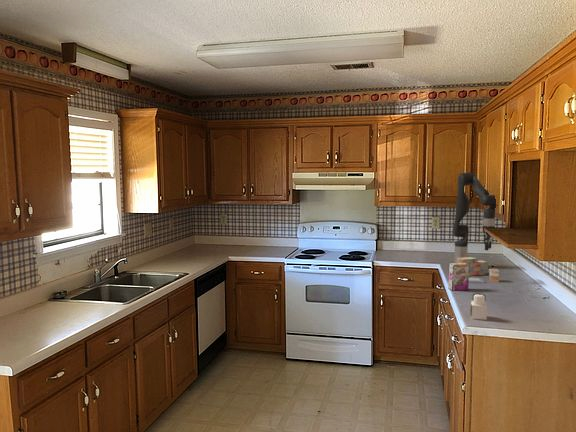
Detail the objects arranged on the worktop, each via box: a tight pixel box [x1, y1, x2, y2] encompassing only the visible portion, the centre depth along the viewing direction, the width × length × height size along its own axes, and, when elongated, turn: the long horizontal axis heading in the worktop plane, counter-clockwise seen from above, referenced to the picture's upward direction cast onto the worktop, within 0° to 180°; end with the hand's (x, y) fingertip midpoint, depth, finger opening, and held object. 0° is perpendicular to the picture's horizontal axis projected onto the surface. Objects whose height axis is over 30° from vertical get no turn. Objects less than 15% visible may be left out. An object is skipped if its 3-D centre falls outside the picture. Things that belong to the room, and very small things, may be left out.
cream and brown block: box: [488, 268, 500, 283], centre depth 319 cm, size 5×5×8 cm
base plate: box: [468, 276, 486, 284], centre depth 320 cm, size 12×12×1 cm
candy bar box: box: [448, 262, 470, 292], centre depth 296 cm, size 11×5×16 cm, turn 100°
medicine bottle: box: [469, 292, 488, 321], centre depth 240 cm, size 7×7×12 cm
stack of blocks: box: [457, 256, 489, 277], centre depth 340 cm, size 21×6×12 cm, turn 105°
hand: (488, 249), depth 317 cm, fingers open, 8 cm apart
